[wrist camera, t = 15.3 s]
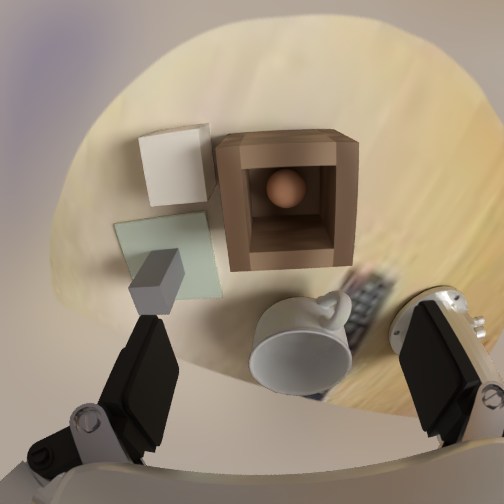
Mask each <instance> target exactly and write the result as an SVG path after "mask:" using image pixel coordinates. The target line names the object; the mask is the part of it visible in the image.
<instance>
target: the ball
mask: <svg viewBox="0 0 504 504" xmlns="http://www.w3.org/2000/svg"><path fill="white" fill-rule="evenodd" d="M305 193H306V185H305V182H304V179H303V178H302V176H301V175H300V174H299V173H297V172H296V171H293V170H290V169H282V170H279V171H276V172H275V173H274V174H272V175H271V177H270V178H269V180H268V182H267V194H268V197H269V199H270V200H271V201H272V202H273V203H274V204H275V205H277V206H279V207H282V208H291V207H294V206H296V205H298V204H299V203H300V202H301V201H302V200H303V198H304V196H305Z"/></svg>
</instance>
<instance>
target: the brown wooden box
mask: <svg viewBox="0 0 504 504" xmlns="http://www.w3.org/2000/svg"><path fill="white" fill-rule="evenodd" d="M215 150H216V159H217V168H218V176H219V185H220V193H221V202H222V210H223V218H224V226H225V234H226V242H227V249H228V257H229V264H230V272H238V271H261V270H282V269H302V268H320V267H338V266H352V263H353V253H354V242H355V229H356V215H357V197H358V170H359V142H357V141H355V140H353V139H351V138H349V137H348V136H346V135H344V134H342V133H340V132H338V131H336V130H334V129H309V130H277V131H259V132H245V133H233V134H228V135H227V136H226V137H225V138H224V139H223V140H222V142H221V143H220V144H219V145H218V146H217V147H216V148H215ZM282 169H290V170H293V171H296V172H297V173H299V174H300V175H301V176H302V178H303V179H304V182H305V185H306V193H305V196H304V198H303V200H302V201H301V202H300V203H299V204H298V205H296V206H294V207H291V208H282V207H279V206H277V205H275V204H274V203H273V202H272V201H271V200H270V199H269V197H268V194H267V182H268V180H269V178H270V177H271V175H272V174H274V173H275V172H276V171H279V170H282Z"/></svg>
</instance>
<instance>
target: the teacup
mask: <svg viewBox="0 0 504 504" xmlns="http://www.w3.org/2000/svg"><path fill="white" fill-rule="evenodd" d="M335 303H337V305H336V309H335V310H334V309H333V308H332V307H331V306H332V305H333V304H335ZM350 312H351V300H350V298H349V296H348V295H347V294H345V293H343V292H340V291H332V292H329V293H327V294H326V295H324V296H320V297H318V298H317V299H314V298H307V297H294V298H288V299H285V300H282V301H280V302H277V303H276V304H274V305H272V306H271V307H270V308H268V309H267V310H266V311H265V312H264V313H263V315H262V316H261V318H260V319H259V321H258V324H257V326H256V329H255V334H254V339H253V345H252V352H251V354H250V357H249V369H250V372H251V374H252V376H253V377H254V379H255V380H256V381H257V382H258V383H260V384H261V385H262V386H264V387H265V388H267V389H269V390H271V391H273V392H276V393H281V394H286V395H294V396H301V395H311V394H315V393H319V392H323V391H325V390H328V389H330V388H332V387H334V386H335V385H337V384H338V383H340V382H341V381H342V380H343V379H344V378H345V376H346V375H347V374H348V372H349V370H350V368H351V365H352V356H351V352H350V350H349V347H348V342H347V337H346V333H345V329H344V326H343V325H344V324H345V323H346V322H347V320H348V318H349V315H350Z"/></svg>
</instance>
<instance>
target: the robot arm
mask: <svg viewBox="0 0 504 504" xmlns="http://www.w3.org/2000/svg"><path fill="white" fill-rule="evenodd" d="M484 322H485V321H484V317H483V316H479V317H475V318H472V317H471V316H470V315H469V313H468V304H467V301H466V299H465V297H464V296H463V294H462V293H461V292H460V291H459V290H457V289H456V288H453V287H448V286H442V287H436V288H432V289H429V290H427V291H425V292H423V293H421V294H419V295H418V296H416V297H414V298H413V299H412V300H411V301H409V302H408V303H407V304H406V305H405V306H404V307H403V308H402V309H401V310H400V311H399V313H398V314H397V315H396V317H395V318H394V320H393V322H392V324H391V327H390V330H389V342H390V344H391V347H392V349H393V351H394V352H395V353H396V354H398V355H399V362H400V365H401V368H402V370H403V373H404V376H405V379H406V381H407V384H408V387H409V390H410V393H411V396H412V399H413V402H414V405H415V408H416V411H417V414H418V417H419V420H420V423H421V426H422V429H423V431H425V432H426V431H427V434H428V437H433V436H437V439H438V441H439V443H440V445H439V447H438V449H437V450H433V451H429V452H426V453H422V454H418V455H414V456H411V457H407V458H402V459H398V460H393V461H389V462H384V463H379V464H374V465H368V466H362V467H356V468H350V469H342V470H335V471H326V472H316V473H303V474H286V475H231V474H230V475H229V474H213V473H201V472H191V471H181V470H173V469H165V468H158V467H151V466H147V465H146V464H145V462H144V461H143V459H142V457H143V456H144V452H145V451H148V452H154V453H155V450H156V446H160V444H161V442H162V438H163V433H164V430H165V426H166V421H167V418H168V413H169V410H170V406H171V402H172V398H173V394H174V390H175V386H176V382H177V379H178V375H179V366H178V363H177V360H176V358H175V355H174V352H173V349H172V347H171V344H170V341H169V338H168V335H167V332H166V329H165V326H164V323H163V321H162V319H158V317H157V315H141V316H140V317H139V319H138V321H137V323H136V325H135V327H134V329H133V332H132V334H131V336H130V338H129V340H128V342H127V344H126V347H125V348H123V349H122V350H121V352H120V354H119V356H118V358H117V360H116V362H115V364H114V367H113V369H112V371H111V373H110V376H109V378H108V380H107V382H106V385H105V387H104V389H103V392H102V394H101V396H100V399H99V401H98V404H94V403H86V404H83V405H81V406H79V407H77V408H76V410H75V411H73V413H72V415H71V417H70V421H69V423H70V426H68V427H66V428H64V429H62V430H60V431H58V432H56V433H55V434H52V435H50V436H48V437H46V438H44V439H42V440H40V441H38V442H36V443H35V444H33V445H32V446H31V448H30V449H29V451H28V454H27V462H26V463H25V462H24V461H22V462H21V463H20V464H18V465H17V466H16V467H15V468H14V469H13V470H12V471H11V472H10V473H9V474H8V475H6V476H5V477H4V478H3V479H2V480H1V481H0V504H504V382H503V380H502V378H501V376H500V374H499V372H498V371H497V369H496V367H495V365H494V363H493V362H492V360H491V358H490V357H489V355H488V353H487V351H486V350H485V348H484V346H483V345H482V343H481V342H480V340H479V339H482V338H484V336H485V329H484V327H483V326H481V325H483V324H484ZM477 326H479V327H477ZM474 327H475V328H474Z"/></svg>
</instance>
